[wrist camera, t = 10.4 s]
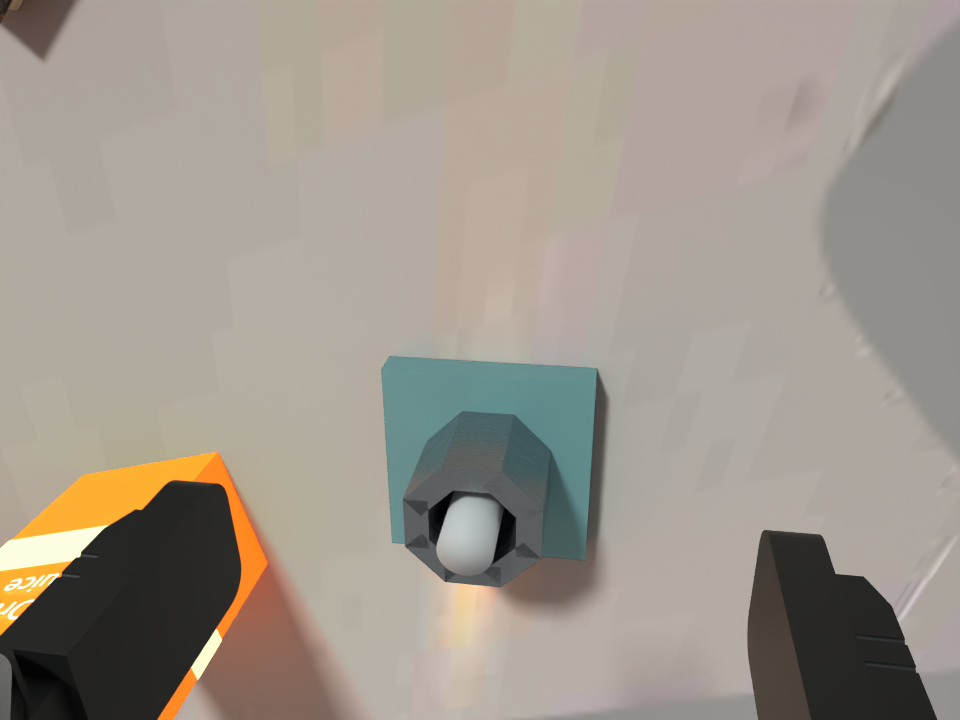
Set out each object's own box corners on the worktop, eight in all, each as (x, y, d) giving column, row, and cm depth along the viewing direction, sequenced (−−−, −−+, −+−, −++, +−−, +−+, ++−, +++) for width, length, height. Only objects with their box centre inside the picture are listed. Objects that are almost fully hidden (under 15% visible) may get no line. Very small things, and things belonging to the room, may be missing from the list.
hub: (552, 416, 37) (543, 475, 32) (548, 523, 39) (540, 591, 35) (425, 408, 38) (400, 464, 33) (429, 513, 40) (406, 578, 36)
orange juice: (80, 473, 44) (-280, 795, 26) (218, 449, 42) (-72, 782, 24) (139, 583, 47) (-151, 941, 29) (270, 566, 45) (45, 941, 27)
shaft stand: (596, 368, 37) (593, 457, 30) (586, 542, 41) (580, 657, 34) (389, 356, 38) (338, 438, 31) (399, 525, 43) (356, 632, 35)
